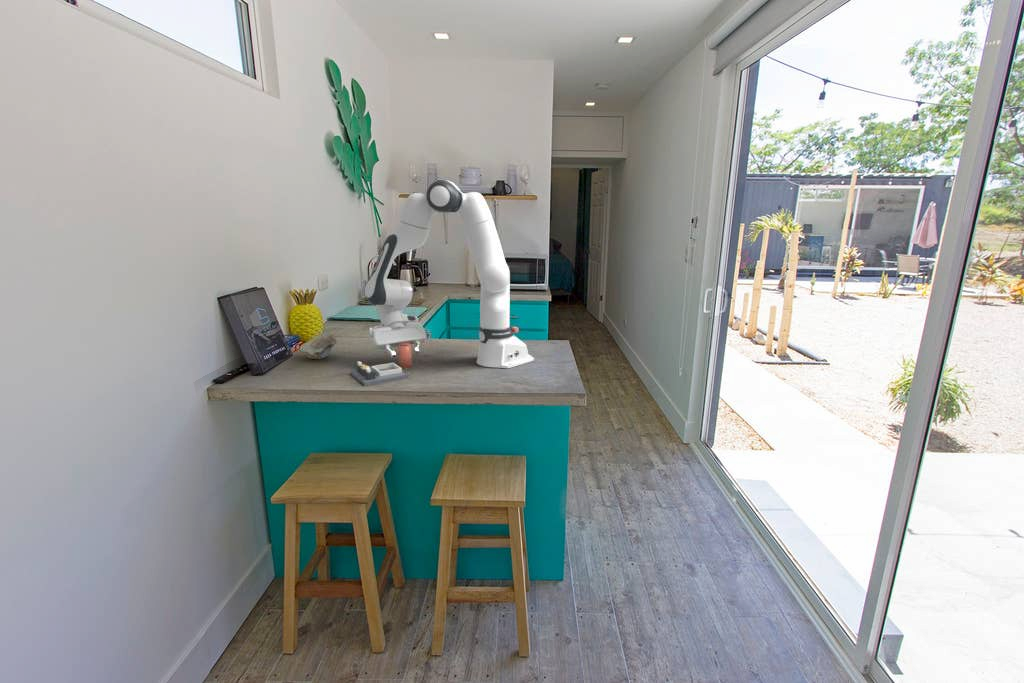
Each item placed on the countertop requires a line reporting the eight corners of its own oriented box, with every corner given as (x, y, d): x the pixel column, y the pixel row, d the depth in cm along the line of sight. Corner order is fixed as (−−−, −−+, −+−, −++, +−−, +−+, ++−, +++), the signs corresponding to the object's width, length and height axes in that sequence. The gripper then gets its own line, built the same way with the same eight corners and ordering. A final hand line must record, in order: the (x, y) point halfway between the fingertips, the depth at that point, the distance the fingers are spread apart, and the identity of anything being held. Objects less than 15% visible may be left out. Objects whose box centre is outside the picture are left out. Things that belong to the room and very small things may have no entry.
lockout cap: (409, 364, 190) (408, 341, 188) (414, 367, 186) (413, 344, 184) (397, 366, 187) (396, 343, 185) (402, 369, 184) (401, 345, 181)
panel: (391, 367, 187) (390, 354, 186) (407, 377, 175) (406, 365, 174) (350, 374, 179) (349, 361, 177) (364, 385, 167) (363, 372, 165)
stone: (326, 364, 190) (324, 338, 188) (294, 361, 194) (291, 335, 191) (342, 356, 200) (340, 332, 198) (311, 353, 204) (309, 329, 201)
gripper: (369, 322, 183) (380, 354, 177) (421, 316, 194) (433, 346, 188) (365, 331, 187) (376, 363, 182) (416, 325, 198) (428, 354, 193)
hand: (405, 354), depth 185 cm, fingers open, 8 cm apart
